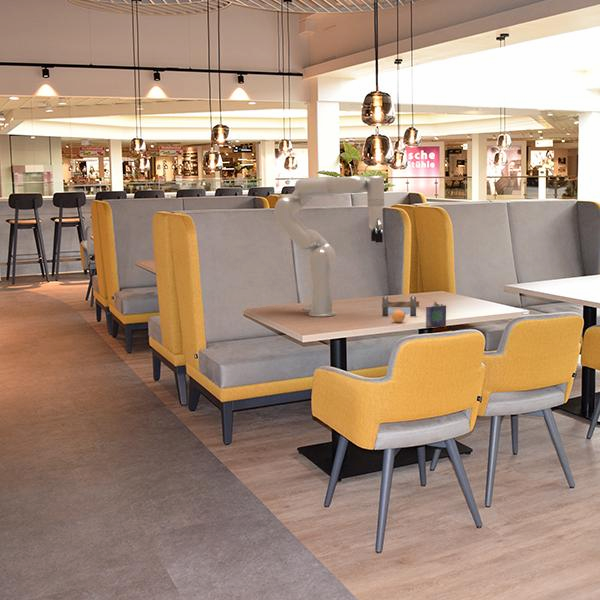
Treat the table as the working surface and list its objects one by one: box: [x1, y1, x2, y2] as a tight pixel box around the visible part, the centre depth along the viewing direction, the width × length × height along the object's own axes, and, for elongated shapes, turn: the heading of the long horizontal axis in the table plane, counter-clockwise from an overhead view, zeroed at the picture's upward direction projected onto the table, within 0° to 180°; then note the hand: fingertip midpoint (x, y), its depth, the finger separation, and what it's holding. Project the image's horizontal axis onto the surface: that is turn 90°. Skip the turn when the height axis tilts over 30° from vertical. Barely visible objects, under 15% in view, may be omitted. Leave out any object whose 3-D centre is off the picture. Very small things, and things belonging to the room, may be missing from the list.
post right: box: [409, 296, 417, 317], centre depth 362 cm, size 3×3×9 cm
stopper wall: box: [388, 300, 420, 308], centre depth 390 cm, size 18×2×2 cm, turn 82°
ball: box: [391, 310, 406, 323], centre depth 347 cm, size 6×6×6 cm
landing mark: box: [388, 307, 410, 313], centre depth 377 cm, size 14×14×1 cm
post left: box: [381, 295, 389, 317], centre depth 364 cm, size 3×3×9 cm
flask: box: [425, 300, 447, 328], centre depth 336 cm, size 9×3×11 cm, turn 109°
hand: (376, 241), depth 359 cm, fingers open, 9 cm apart
